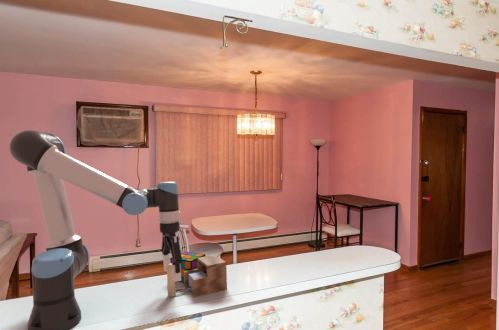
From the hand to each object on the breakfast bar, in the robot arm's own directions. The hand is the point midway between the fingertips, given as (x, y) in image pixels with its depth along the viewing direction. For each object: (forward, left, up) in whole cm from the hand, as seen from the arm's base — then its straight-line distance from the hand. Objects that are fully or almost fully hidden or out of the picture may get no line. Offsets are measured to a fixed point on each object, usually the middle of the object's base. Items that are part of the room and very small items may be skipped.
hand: (172, 275), depth 127 cm
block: (+6, 0, -8) cm, 10 cm away
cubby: (+14, 0, -8) cm, 16 cm away
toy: (+12, +15, -8) cm, 20 cm away
